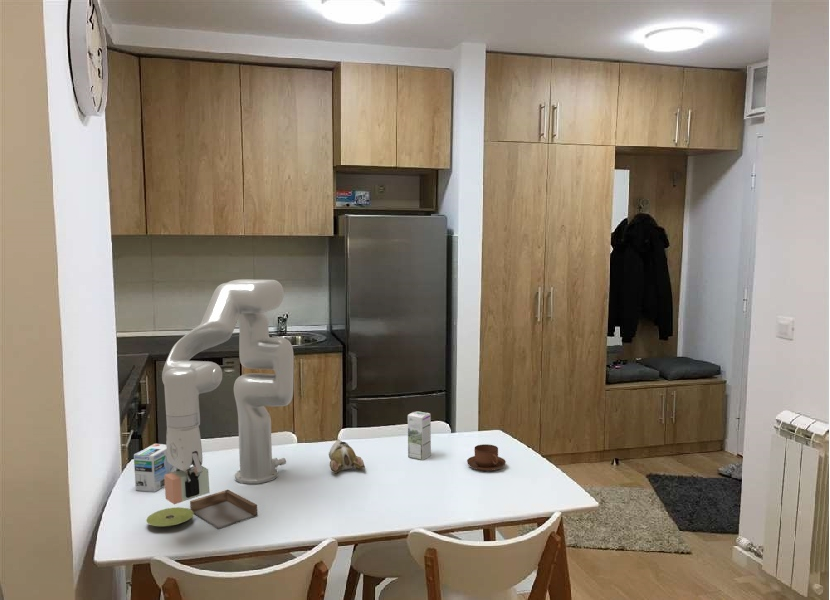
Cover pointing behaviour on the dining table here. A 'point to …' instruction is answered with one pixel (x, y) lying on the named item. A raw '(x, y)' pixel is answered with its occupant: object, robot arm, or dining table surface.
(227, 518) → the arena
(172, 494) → the peach green box
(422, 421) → the syrup box
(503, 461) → the cup and saucer
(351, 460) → the ceramic sculpture
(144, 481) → the light bulb box
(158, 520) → the green flat disc
